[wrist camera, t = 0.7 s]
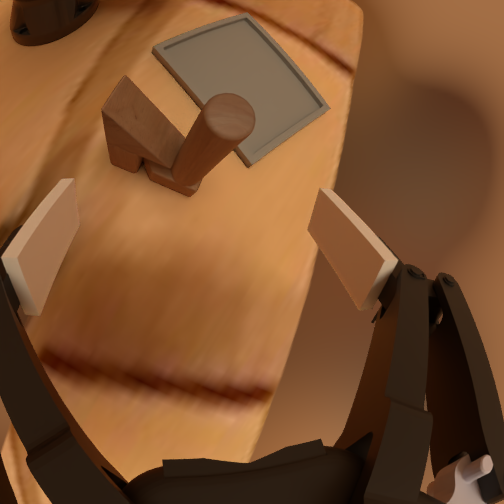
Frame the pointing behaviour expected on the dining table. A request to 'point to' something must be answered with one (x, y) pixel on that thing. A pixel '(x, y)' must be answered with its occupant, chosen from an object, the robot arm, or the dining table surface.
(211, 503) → the robot arm
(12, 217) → the dining table surface
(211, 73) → the slate tray
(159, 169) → the wooden block
